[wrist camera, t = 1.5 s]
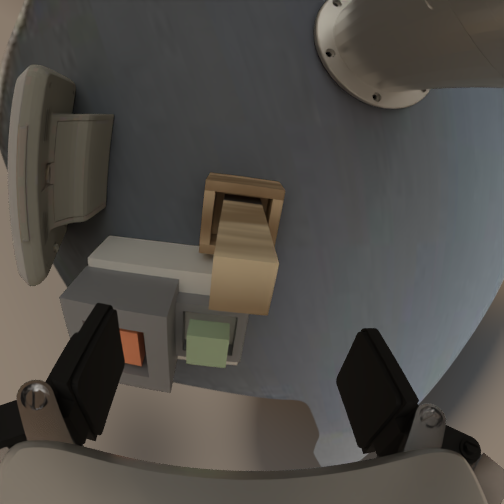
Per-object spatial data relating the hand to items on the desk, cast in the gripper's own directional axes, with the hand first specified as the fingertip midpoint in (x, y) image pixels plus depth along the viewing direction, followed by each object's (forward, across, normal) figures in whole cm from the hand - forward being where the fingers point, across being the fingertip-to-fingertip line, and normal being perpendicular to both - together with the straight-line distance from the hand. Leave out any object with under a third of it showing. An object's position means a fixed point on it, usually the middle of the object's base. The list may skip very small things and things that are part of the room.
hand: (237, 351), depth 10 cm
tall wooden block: (+16, 0, -1) cm, 16 cm away
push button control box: (+17, +5, +8) cm, 20 cm away
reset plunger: (+9, +8, +8) cm, 15 cm away
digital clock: (+17, +16, -4) cm, 24 cm away
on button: (+11, +1, +8) cm, 13 cm away
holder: (+17, 0, -1) cm, 17 cm away
